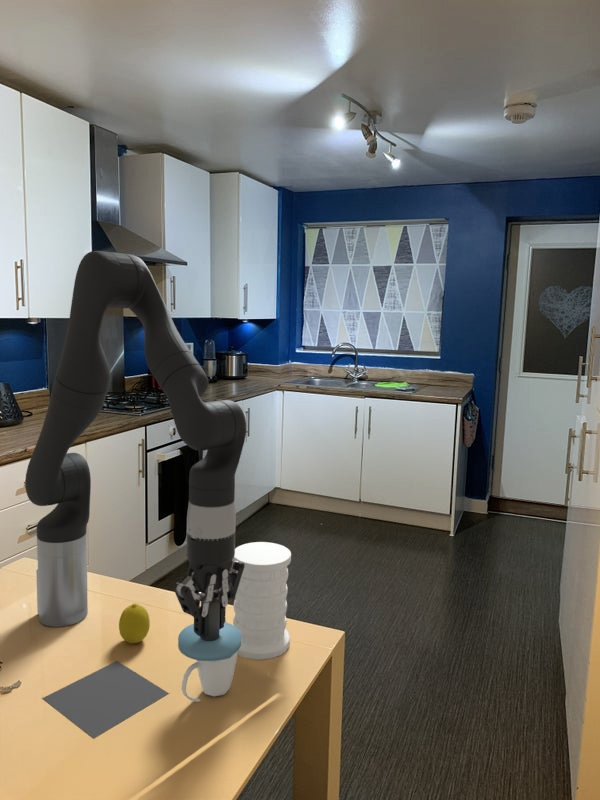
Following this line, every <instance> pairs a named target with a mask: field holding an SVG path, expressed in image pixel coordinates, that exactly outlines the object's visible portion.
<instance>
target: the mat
mask: <svg viewBox="0 0 600 800" xmlns="http://www.w3.org/2000/svg"><path fill="white" fill-rule="evenodd" d="M169 694H170V692H169V691H166V690H164V689H163V688H161V686H158V685H157V684H155V683H153V682H152V681H150V680H149V679H147V678H145V677H144V676H142V675H141V674H139V673H137V672H136V671H134V670H132V669H131V668H129V667H128V666H126V665H125V664H123V663H121V662H120V661H118V660H116V661H114V662H112V663H109V664H108V665H105V666H104V667H101V668H100V669H97V670H95V671H94V672H92V673H89V674H88V675H86V676H84V677H82V678H80V679H78V680H75V681H74V682H72V683H69V684H68V685H66V686H63V687H62V688H59V689H57V690H56V691H53V692H52V693H50V694H48V695H46V696H43V697H42V698H41V699H42V700H43V701H45V702H46V703H47V704H48V705H50V706H51V707H52V708H54V709H55V710H56V711H58V712H59V714H61V715H63V716H64V717H65V718H67V719H68V720H69V721H70V722H71V723H73V724H74V725H76V726H77V727H78V728H79V729H81V731H83V732H84V733H86V734H87V735H88V736H90V737H91V738H92V739H96V738H98V737H99V736H100V735H102V734H104V733H105V732H107V731H109V730H111V729H112V728H114V727H116V726H118V725H119V724H120V723H122V722H124V721H127V719H129V718H130V717H133V716H134V715H136V714H137V713H139V712H141V711H142V710H144V709H146V708H147V707H149V706H150V705H153V704H154V703H156V702H158V701H159V700H161V699H163V698H164V697H166V696H168V695H169Z"/></svg>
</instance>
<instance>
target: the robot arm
mask: <svg viewBox="0 0 600 800" xmlns="http://www.w3.org/2000/svg"><path fill="white" fill-rule="evenodd" d="M70 305H71V306H70V310H69V311H70V312H69V319H68V323H67V324H68V325H67V329H66V335H65V339H64V344H63V347H62V350H61V355H60V359H59V363H58V367H57V368H56V372H55V375H54V376H55V377H54V381H53V384H52V387H51V388H52V389H51V393H50V398H49V402H48V407H47V410H46V414H45V418H44V421H43V425H42V427H41V431H40V433H39V436H38V438H37V441H36V444H35V447H34V449H33V452H32V454H31V457H30V460H29V463H28V465H27V468H26V469H27V470H26V473H25V482H24V483H25V493H26V495H27V498H28V500H29V501H30V502H31V503H32V504H33V505H35V506H38V507H45V506H46V507H47V506H53V505H56V506H55V507H54V508H53V509H52V510H51V511H50V512H49V513H47V514H46V515H44V516H43V517H42V518H41V519H39V520H38V522H37V524H36V554H37V555H36V556H37V557H36V558H37V569H36V603H37V604H36V605H37V615H38V620H39V622H40V623H41V624H42V625H43V626H48V627H54V628H58V627H66V626H71V625H74V624H77V623H80V622H81V621H83V620H84V619H85V618H86V617H87V615H88V613H89V612H88V608H89V607H88V605H89V604H88V547H87V545H88V543H87V542H88V541H87V538H88V537H87V536H88V535H87V534H88V533H87V527H88V523H89V521H90V520H89V519H90V514H91V513H90V511H91V510H90V508H91V489H92V488H91V487H92V484H91V482H92V480H91V479H92V478H91V471H90V467H89V464H88V462H87V460H86V458H85V457H84V456H83V455H82V454H80V453H77V452H68V451H69V450H70V448H71V446H72V445H73V444H74V443H75V441H76V440H77V439H78V438H80V436H82V434H83V433H84V432H85V431H86V430H87V429H88V428H89V427H90V426H91V424H92V423H93V422H94V421H95V420H96V418H97V417H98V415H100V413H101V411H102V409H103V407H104V403H105V401H106V397H107V395H108V391H109V388H110V383H111V379H112V378H111V377H112V376H111V370H110V369H111V368H110V366H109V361H108V359H107V357H106V354H105V351H104V349H103V346H102V345H103V344H102V342H101V337H100V336H101V329H102V322H103V319H104V315H105V312H106V311H107V309H129V310H130V311H131V312H133V314H134V315H135V317H136V318H137V319H138V320H139V322H140V323H141V324H142V327H143V332H144V345H143V346H144V349H143V350H144V357H145V358H144V359H145V361H146V364H147V367H148V369H149V371H150V373H151V375H152V376H153V377H154V379H155V381H156V382H157V384H158V385H159V387H160V388H161V390H162V392H163V393H164V394H165V396H166V397H167V402H168V405H169V409H170V411H171V414H172V418H173V422H174V424H175V425H174V426H175V429H176V432H177V434H178V435H179V438H180V439H181V440H182V442H183V443H185V444H186V446H188V447H189V448H191V449H192V450H194V451H198V452H199V451H201V452H202V451H206V454H205V455H204V457H203V458H202V459H200V460H199V461H197V462H196V463H194V465H192V466H191V468H190V470H189V473H188V474H189V477H188V505H187V506H188V507H187V511H186V513H187V515H186V558H187V560H188V562H189V566H188V567H189V568H188V571H187V572H186V573H187V574H186V578H185V579H184V580H183V581H182V582H181V583H180V582H178V581H177V582H175V583H174V584H173V586H172V587H173V591H174V593H175V596H176V599H177V601H178V603H179V605H180V607H181V610H182V611H183V613H185V614H187V615H190V616H191V617H192V618H193V624H194V632H195V633H196V634H197V635H198V636H200V637H202V638H205V637H207V636H208V615H207V613H208V607H209V602H211V601H212V597H216V598H218V599H219V600H220V629H221V628H223V627H224V623H225V622H226V608H227V606H228V604H229V601H230V600H235V598H236V592H237V589H238V586H239V583H240V579H241V576H242V573H243V570H244V566H245V565H244V563H242V562H239V561H237V560H234V559H233V557H234V555H235V549H236V526H237V525H236V520H237V518H236V517H237V516H236V507H235V505H236V504H235V496H236V495H235V494H236V491H235V489H236V488H235V487H236V479H235V478H236V472H237V469H238V467H239V466H238V465H240V459H241V455H242V452H243V448H244V445H245V442H246V441H245V440H246V436H247V435H246V434H247V420H246V416H245V414H244V411H243V409H242V408H241V406H240V405H239V404H238V403H236V402H235V401H232V400H230V399H222V400H215V401H208V402H207V401H206V402H204V400H202V398H201V397H202V395H204V394H205V392H206V391H207V390H208V387H209V384H210V383H209V378H208V375H207V374H206V373H205V370H204V369H203V367H202V366H201V364H200V363H199V362H198V360H197V359H196V357H195V355H194V354H193V352H192V351H191V350H190V348H189V347H188V345H187V344H186V343H185V341H184V340H183V338H182V336H181V334H180V332H179V331H178V329H177V326H176V325H175V323H174V320H173V318H172V316H171V314H170V312H169V309H168V307H167V305H166V302H165V301H164V299H163V296H162V294H161V292H160V290H159V288H158V286H157V284H156V282H155V279H154V276H153V275H152V273H151V271H150V269H149V268H148V266H147V265H146V263H145V262H144V260H142V258H140V257H138V256H136V255H134V254H129V253H123V252H121V253H120V252H111V251H103V250H92V251H89V252H86V254H84V256H82V258H81V260H80V262H79V264H78V268H77V271H76V274H75V279H74V285H73V290H72V298H71V304H70ZM230 583H231V586H230ZM229 587H230V588H229Z"/></svg>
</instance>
